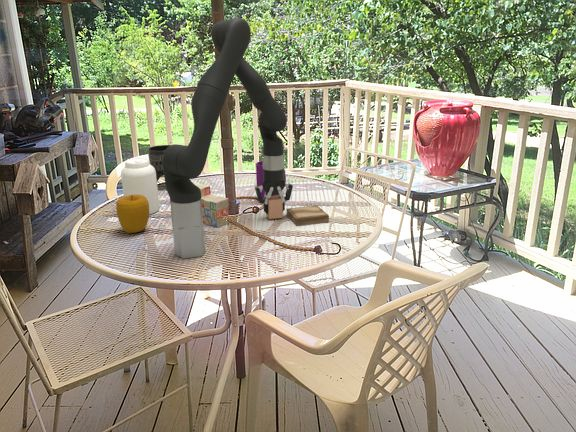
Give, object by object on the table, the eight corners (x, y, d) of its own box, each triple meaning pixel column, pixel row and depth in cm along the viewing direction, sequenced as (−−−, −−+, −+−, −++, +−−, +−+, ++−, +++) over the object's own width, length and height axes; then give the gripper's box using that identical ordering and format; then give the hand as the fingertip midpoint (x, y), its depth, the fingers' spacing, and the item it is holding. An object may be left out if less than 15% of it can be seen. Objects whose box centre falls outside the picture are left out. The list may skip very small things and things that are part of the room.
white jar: (166, 209, 192) (161, 158, 185) (140, 218, 182) (133, 165, 175) (145, 204, 199) (139, 154, 192) (119, 212, 189) (112, 161, 182)
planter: (158, 182, 227) (154, 144, 221) (185, 183, 226) (182, 145, 220) (147, 191, 215) (142, 150, 209) (175, 192, 214) (171, 151, 208)
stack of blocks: (230, 223, 177) (228, 190, 173) (217, 228, 173) (215, 194, 169) (190, 211, 190) (187, 180, 186) (177, 215, 186) (174, 183, 181)
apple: (142, 238, 165) (138, 201, 160) (112, 236, 167) (107, 199, 162) (157, 226, 175) (153, 191, 171) (128, 224, 177) (124, 190, 172)
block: (282, 217, 180) (282, 199, 178) (269, 219, 179) (269, 200, 176) (279, 213, 185) (278, 195, 182) (265, 214, 183) (265, 196, 181)
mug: (252, 199, 202) (250, 163, 197) (276, 190, 214) (275, 156, 209) (269, 203, 197) (268, 167, 192) (293, 194, 208) (293, 159, 203)
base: (328, 222, 177) (328, 215, 176) (296, 225, 174) (296, 218, 173) (317, 211, 188) (317, 204, 187) (286, 215, 184) (286, 208, 183)
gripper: (256, 171, 170) (257, 217, 176) (296, 167, 174) (296, 213, 180) (251, 166, 177) (252, 211, 183) (289, 163, 181) (290, 207, 187)
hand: (274, 212), depth 181 cm, fingers closed on block, 5 cm apart
